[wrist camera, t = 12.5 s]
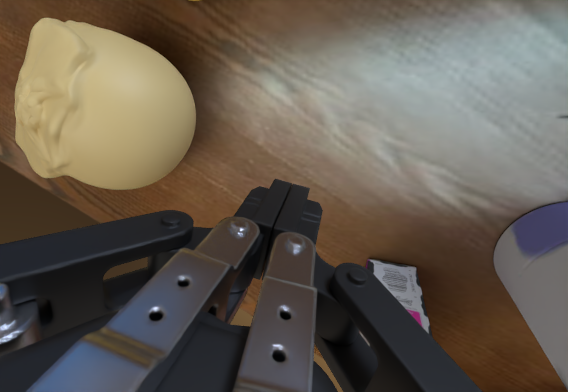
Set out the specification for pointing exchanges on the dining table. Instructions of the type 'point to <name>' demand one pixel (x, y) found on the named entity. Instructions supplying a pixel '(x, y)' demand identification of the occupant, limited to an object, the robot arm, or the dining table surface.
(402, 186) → the dining table surface
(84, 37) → the sculpture
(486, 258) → the dining table surface
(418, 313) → the candy bar box
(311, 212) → the robot arm
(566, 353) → the container
